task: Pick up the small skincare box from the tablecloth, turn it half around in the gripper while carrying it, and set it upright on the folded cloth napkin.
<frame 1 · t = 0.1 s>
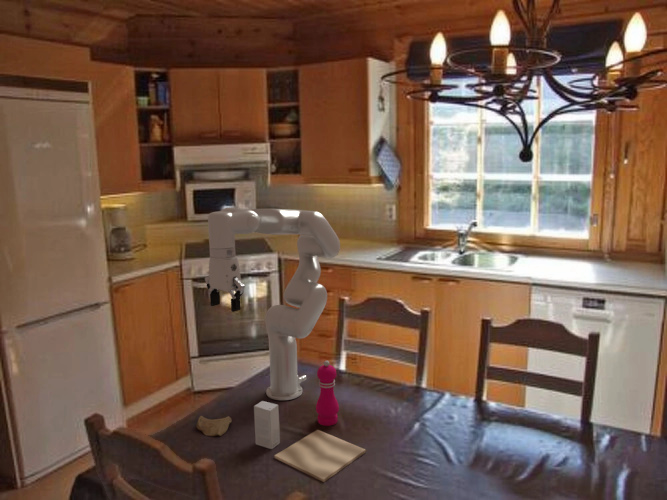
hand: (225, 307, 167), 37 cm above the table, fingers open, 9 cm apart
pepper mill: (327, 421, 172), on the table
skincare box: (267, 444, 159), on the table
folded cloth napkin: (320, 455, 153), on the table
pottery shard: (213, 429, 169), on the table
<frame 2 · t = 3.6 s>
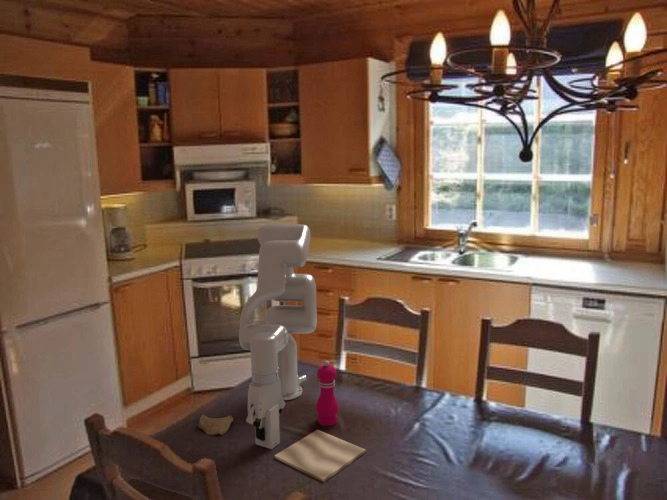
hand: (267, 434, 159), 3 cm above the table, fingers closed on skincare box, 4 cm apart
skincare box: (267, 444, 159), on the table, touching gripper
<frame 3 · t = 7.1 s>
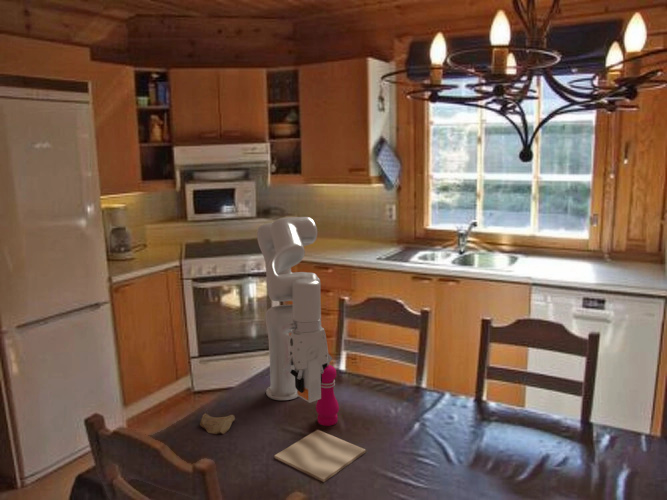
hand: (308, 387, 150), 20 cm above the table, fingers closed on skincare box, 4 cm apart
skincare box: (309, 398, 151), point 17 cm above the table, touching gripper
when the fingers open (5 cm above the table, at t = 10.4 s): skincare box drops 1 cm, resting on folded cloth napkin.
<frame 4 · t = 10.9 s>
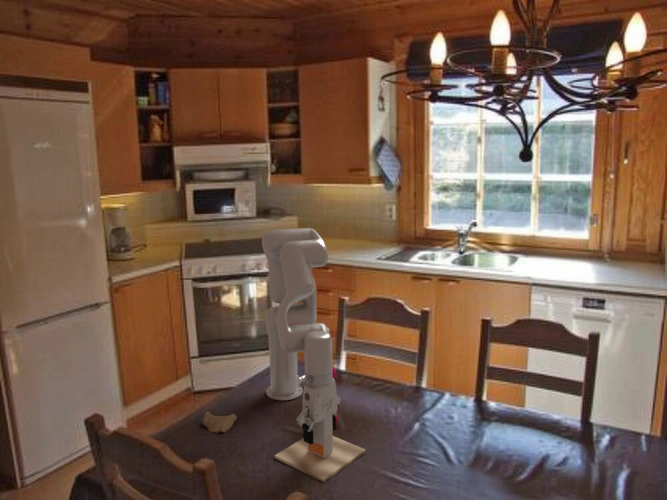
hand: (320, 435, 152), 6 cm above the table, fingers open, 9 cm apart
skincare box: (320, 452, 153), point 1 cm above the table, touching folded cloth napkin
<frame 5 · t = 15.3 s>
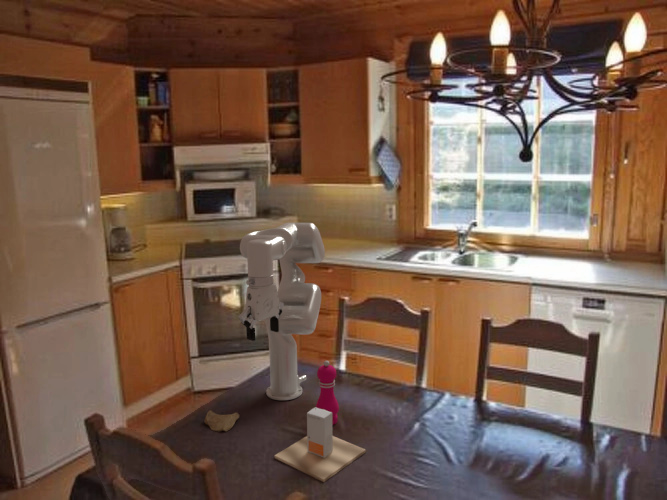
hand: (263, 335, 167), 28 cm above the table, fingers open, 9 cm apart
at the end: skincare box inside the target area on the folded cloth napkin (0.1 cm from its centre), point 0.6 cm above the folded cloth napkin's base; skincare box tilted 0°; the gripper is holding nothing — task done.
